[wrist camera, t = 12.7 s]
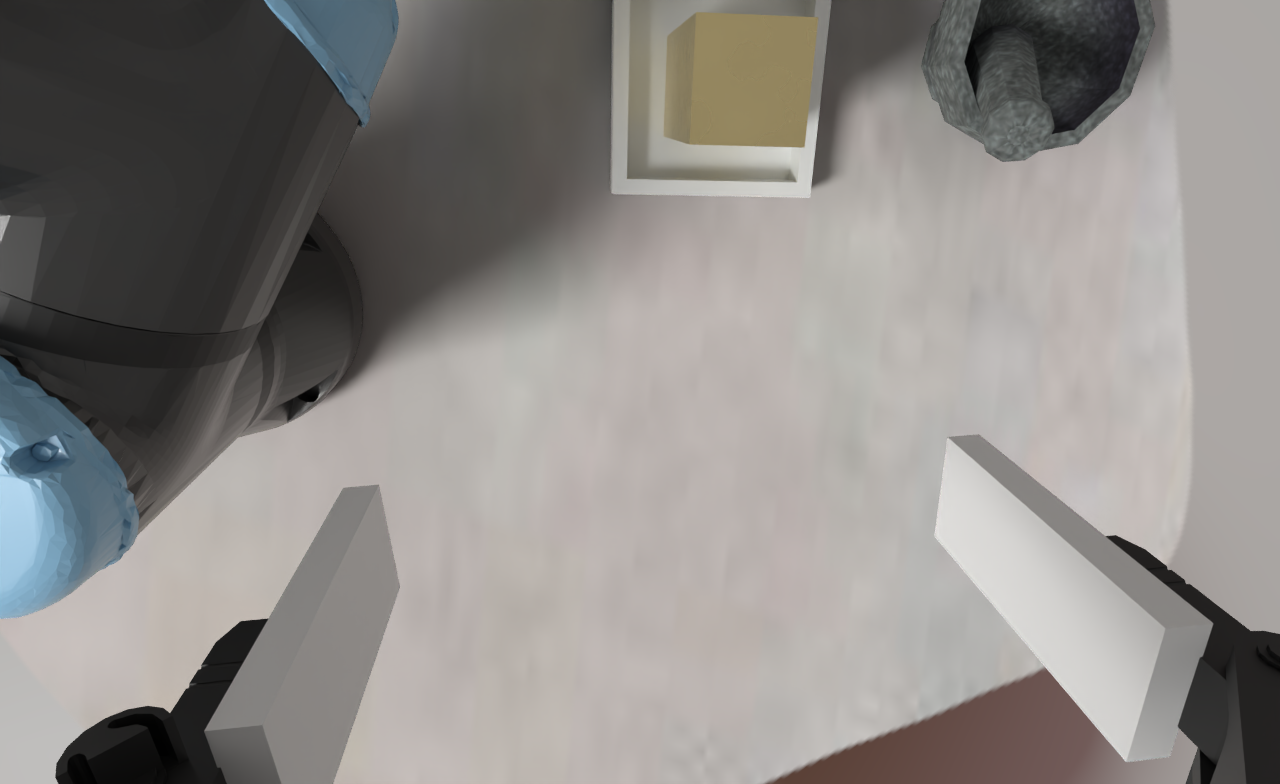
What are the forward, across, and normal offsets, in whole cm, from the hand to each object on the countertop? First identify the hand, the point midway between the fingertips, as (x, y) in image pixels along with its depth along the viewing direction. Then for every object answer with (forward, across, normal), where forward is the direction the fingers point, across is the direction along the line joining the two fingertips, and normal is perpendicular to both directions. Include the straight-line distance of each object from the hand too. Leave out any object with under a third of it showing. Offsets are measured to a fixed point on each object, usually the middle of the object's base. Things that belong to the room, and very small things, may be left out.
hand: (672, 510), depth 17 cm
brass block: (+28, +6, +9) cm, 30 cm away
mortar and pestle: (+28, +21, +10) cm, 36 cm away
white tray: (+28, +6, +9) cm, 30 cm away
